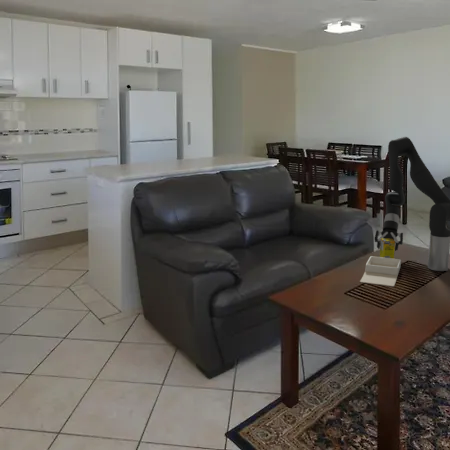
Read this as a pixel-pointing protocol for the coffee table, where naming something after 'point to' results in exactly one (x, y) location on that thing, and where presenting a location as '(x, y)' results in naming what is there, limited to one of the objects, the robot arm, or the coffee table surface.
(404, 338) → the coffee table surface
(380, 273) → the box
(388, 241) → the supplement box
